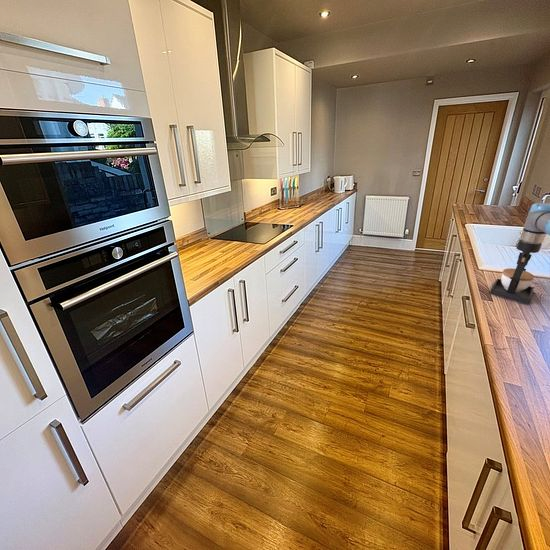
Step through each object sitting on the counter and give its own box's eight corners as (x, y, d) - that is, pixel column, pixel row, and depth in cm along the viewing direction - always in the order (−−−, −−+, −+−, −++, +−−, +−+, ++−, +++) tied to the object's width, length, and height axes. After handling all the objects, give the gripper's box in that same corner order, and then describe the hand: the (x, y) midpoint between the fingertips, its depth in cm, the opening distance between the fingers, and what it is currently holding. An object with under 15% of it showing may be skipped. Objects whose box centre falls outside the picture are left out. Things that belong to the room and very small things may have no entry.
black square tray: (532, 292, 131) (534, 287, 129) (528, 304, 122) (530, 299, 121) (495, 283, 139) (497, 278, 138) (489, 293, 130) (491, 288, 129)
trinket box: (502, 292, 127) (509, 273, 122) (494, 282, 136) (500, 263, 132) (532, 296, 123) (540, 276, 119) (521, 285, 133) (529, 266, 128)
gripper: (523, 232, 130) (506, 276, 139) (515, 246, 115) (497, 294, 124) (544, 236, 125) (526, 281, 134) (539, 251, 110) (519, 300, 119)
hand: (512, 288), depth 129 cm, fingers closed on trinket box, 11 cm apart
